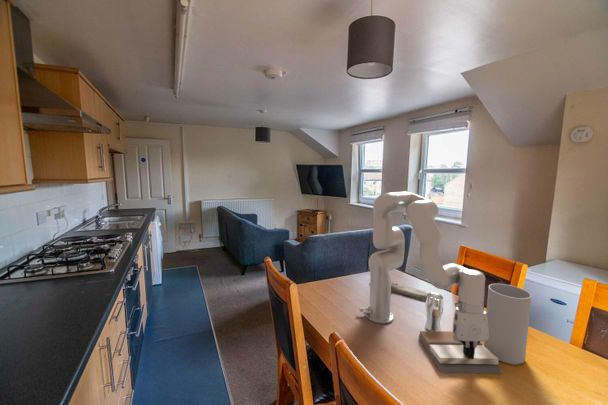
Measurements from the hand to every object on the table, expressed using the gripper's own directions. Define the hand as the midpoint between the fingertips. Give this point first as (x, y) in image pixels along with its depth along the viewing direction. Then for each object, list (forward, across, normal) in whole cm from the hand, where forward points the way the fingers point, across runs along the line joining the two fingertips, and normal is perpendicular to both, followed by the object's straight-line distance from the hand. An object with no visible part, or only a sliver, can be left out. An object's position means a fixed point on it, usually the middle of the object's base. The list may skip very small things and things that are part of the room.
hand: (468, 356), depth 93 cm
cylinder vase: (+4, +17, +7) cm, 19 cm away
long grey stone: (+3, -4, +60) cm, 60 cm away
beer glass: (+4, -2, +23) cm, 24 cm away
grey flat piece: (+4, -1, +7) cm, 8 cm away
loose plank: (+2, -1, +3) cm, 3 cm away
